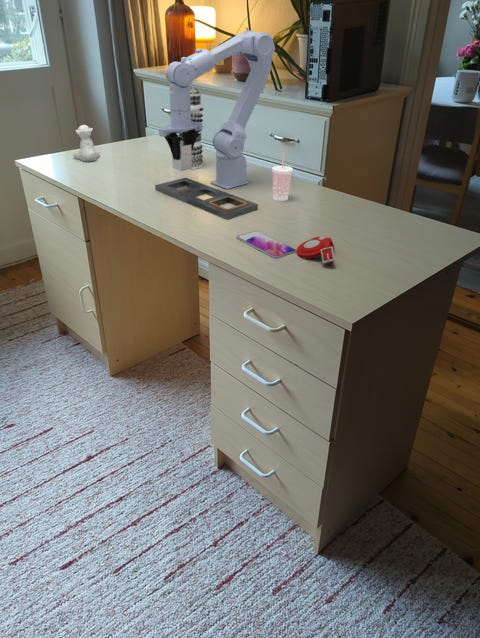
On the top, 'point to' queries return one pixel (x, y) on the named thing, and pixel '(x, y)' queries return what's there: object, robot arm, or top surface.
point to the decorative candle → (196, 117)
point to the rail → (208, 204)
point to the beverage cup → (281, 181)
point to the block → (184, 157)
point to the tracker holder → (317, 249)
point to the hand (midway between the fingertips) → (182, 157)
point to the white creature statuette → (86, 145)
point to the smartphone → (266, 244)
